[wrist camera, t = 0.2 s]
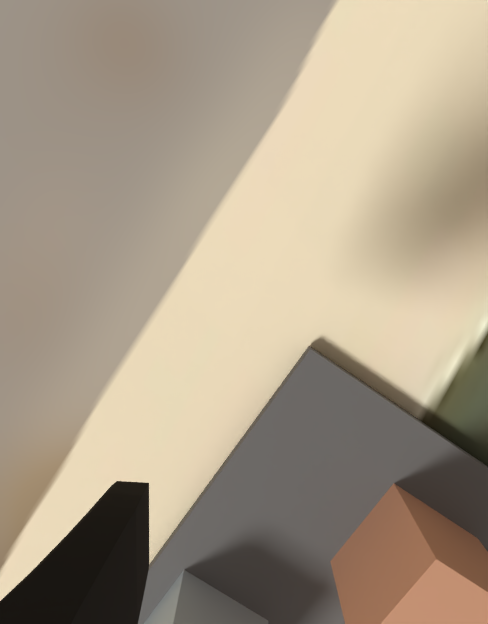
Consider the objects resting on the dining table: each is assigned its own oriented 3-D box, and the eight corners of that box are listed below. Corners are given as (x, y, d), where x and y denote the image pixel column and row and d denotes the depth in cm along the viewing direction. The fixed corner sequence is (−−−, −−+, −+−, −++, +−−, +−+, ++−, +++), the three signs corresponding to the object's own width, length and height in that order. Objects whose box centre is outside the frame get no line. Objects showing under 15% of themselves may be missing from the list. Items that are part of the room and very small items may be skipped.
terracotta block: (412, 613, 20) (457, 720, 16) (330, 561, 20) (352, 656, 15) (477, 538, 20) (544, 628, 15) (393, 483, 19) (436, 559, 15)
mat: (375, 819, 23) (378, 832, 22) (85, 652, 22) (81, 662, 21) (623, 557, 20) (632, 566, 20) (309, 345, 19) (310, 348, 18)
